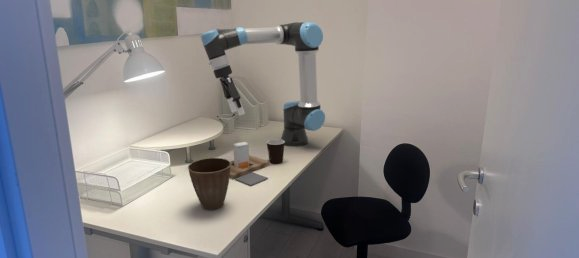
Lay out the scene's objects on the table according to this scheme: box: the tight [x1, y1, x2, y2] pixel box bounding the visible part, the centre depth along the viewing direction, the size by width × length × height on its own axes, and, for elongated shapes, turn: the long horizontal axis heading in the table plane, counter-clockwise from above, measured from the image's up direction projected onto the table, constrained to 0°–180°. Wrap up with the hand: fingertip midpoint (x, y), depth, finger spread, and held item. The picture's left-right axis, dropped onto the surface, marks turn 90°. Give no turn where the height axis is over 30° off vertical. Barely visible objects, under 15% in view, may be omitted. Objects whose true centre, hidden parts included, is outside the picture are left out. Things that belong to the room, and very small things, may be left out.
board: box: [229, 154, 271, 181], centre depth 176 cm, size 22×14×2 cm, turn 138°
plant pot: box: [187, 157, 231, 211], centre depth 139 cm, size 15×15×16 cm
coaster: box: [234, 172, 269, 187], centre depth 164 cm, size 10×10×1 cm
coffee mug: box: [266, 138, 285, 165], centre depth 185 cm, size 12×9×10 cm
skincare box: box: [232, 141, 250, 169], centre depth 175 cm, size 6×4×12 cm
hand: (238, 113), depth 169 cm, fingers open, 13 cm apart
